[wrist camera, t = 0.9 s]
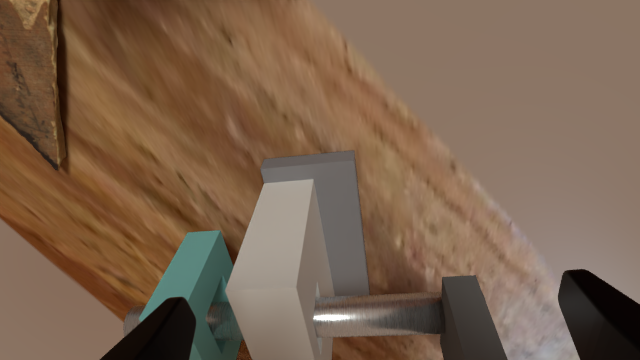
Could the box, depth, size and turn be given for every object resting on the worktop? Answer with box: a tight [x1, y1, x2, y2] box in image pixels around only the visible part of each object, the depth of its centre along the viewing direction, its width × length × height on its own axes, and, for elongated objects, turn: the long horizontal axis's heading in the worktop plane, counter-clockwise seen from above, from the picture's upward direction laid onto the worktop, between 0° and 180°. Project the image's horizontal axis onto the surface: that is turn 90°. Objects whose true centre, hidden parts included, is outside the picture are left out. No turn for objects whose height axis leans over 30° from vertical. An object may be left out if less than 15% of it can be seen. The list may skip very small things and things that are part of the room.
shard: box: [0, 0, 66, 171], centre depth 21 cm, size 11×8×2 cm
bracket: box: [225, 151, 370, 360], centre depth 22 cm, size 6×12×10 cm, turn 8°
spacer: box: [139, 230, 241, 360], centre depth 21 cm, size 2×7×6 cm, turn 9°
